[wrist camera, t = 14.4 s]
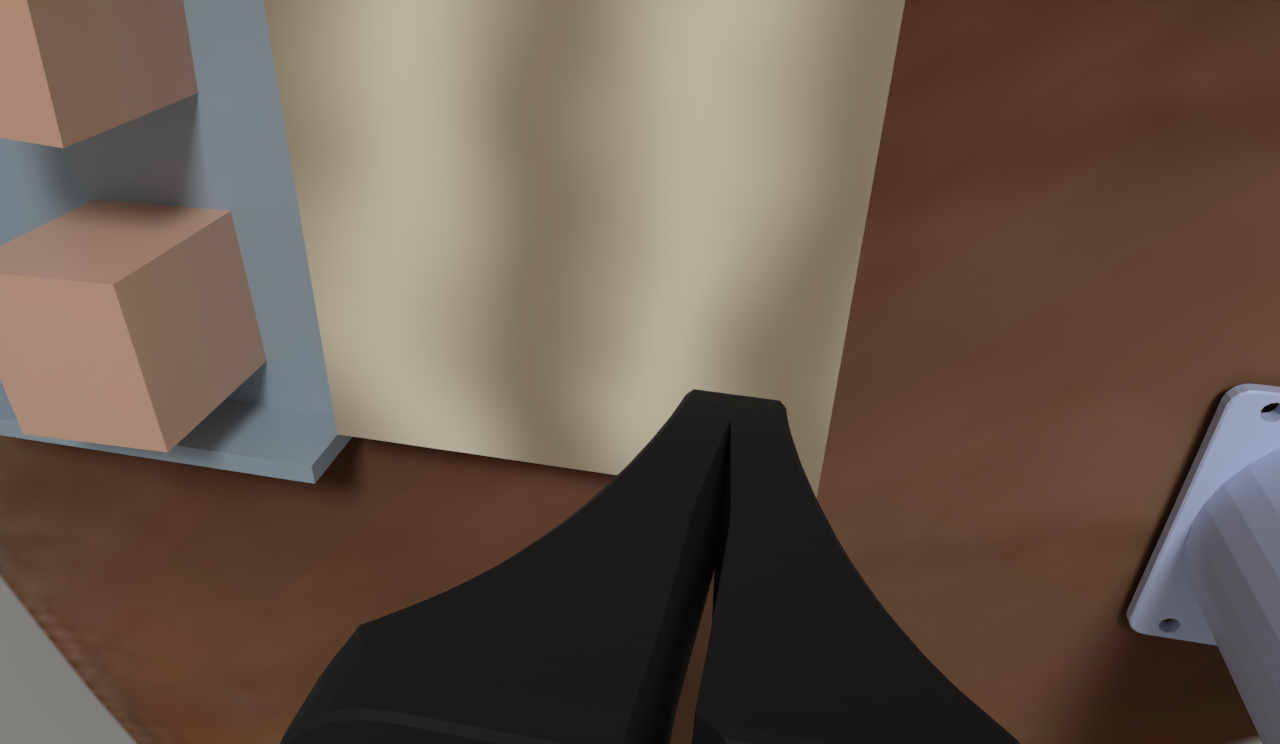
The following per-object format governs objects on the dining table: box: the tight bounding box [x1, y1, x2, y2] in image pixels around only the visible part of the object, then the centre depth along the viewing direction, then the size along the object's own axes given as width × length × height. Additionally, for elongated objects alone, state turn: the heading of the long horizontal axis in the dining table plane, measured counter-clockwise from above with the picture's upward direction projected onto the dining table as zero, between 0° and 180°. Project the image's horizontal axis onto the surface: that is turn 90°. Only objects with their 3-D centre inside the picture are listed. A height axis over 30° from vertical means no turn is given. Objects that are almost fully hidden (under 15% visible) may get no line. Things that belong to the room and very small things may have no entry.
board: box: [263, 0, 905, 498], centre depth 21 cm, size 13×14×2 cm
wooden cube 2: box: [0, 200, 267, 453], centre depth 23 cm, size 4×4×4 cm
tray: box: [0, 0, 352, 484], centre depth 22 cm, size 12×16×3 cm
